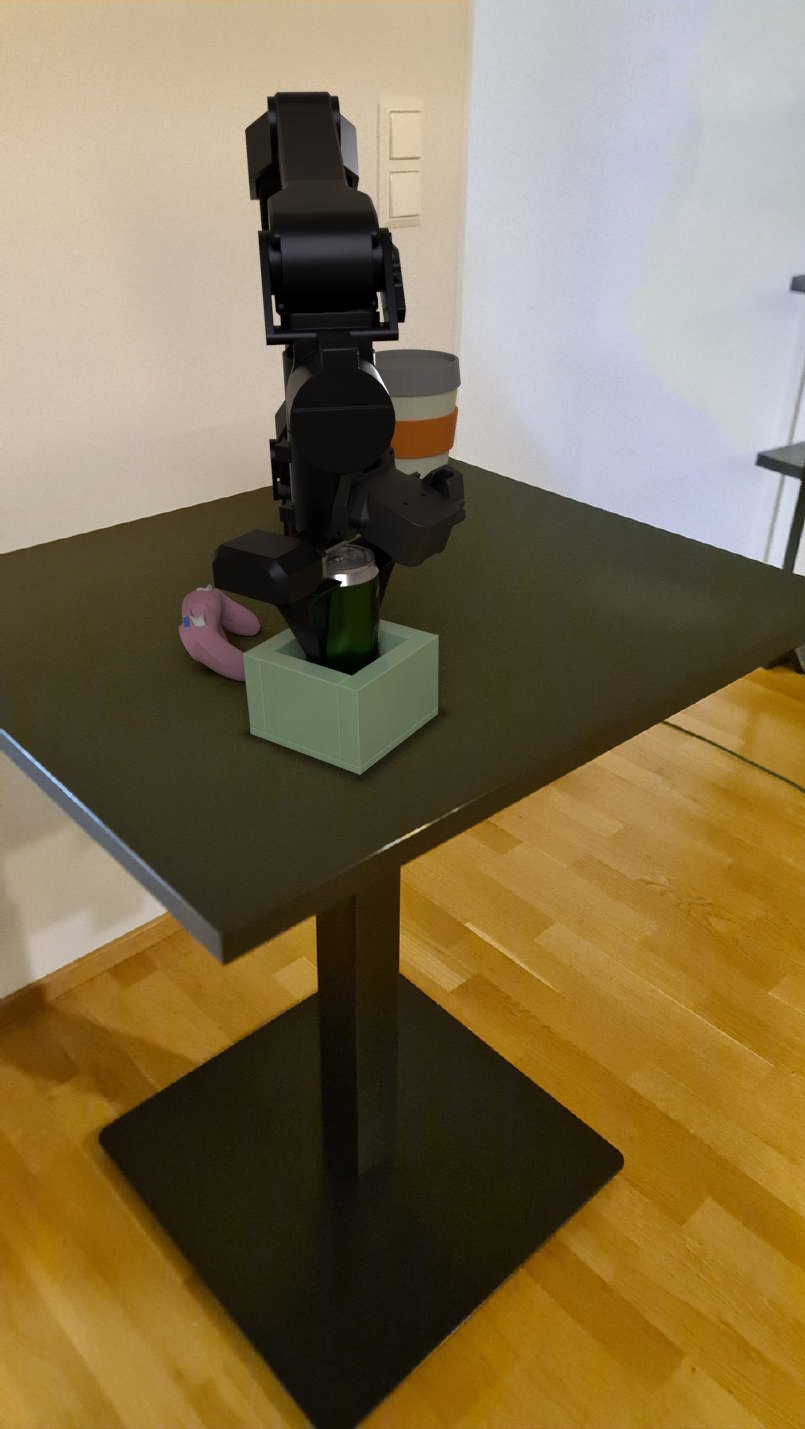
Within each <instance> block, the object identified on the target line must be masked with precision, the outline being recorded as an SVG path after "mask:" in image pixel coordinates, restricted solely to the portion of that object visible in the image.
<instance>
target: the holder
mask: <svg viewBox="0 0 805 1429" xmlns="http://www.w3.org/2000/svg"><path fill="white" fill-rule="evenodd" d="M439 638H440V637H439V634H435V633H432V632H427V631H424V630H420V629H417V628H413V627H410V626H406V625H402V624H399V623H395V622H392V621H389V620H385V619H382V618H380V646H381V657H380V658H378V659H377V660H375V661H374V662H372V663H370V664H369V665H367V666H366V667H364V668H363V669H361V670H360V671H358V672H357V673H355V674H354V675H352V676H351V675H348V674H345V673H342V672H339V671H336V670H333V669H329V668H326V667H323V666H320V665H317V664H314V663H311V662H307V661H306V654H305V653H304V651H303V649H302V648H301V646H300V644H299V643H298V641H297V639H296V638H295V636H294V634H293V633H292V631H291V629H290V628H289V627H288V628H286V629H284V630H283V631H281V632H279V633H277V634H275V635H274V636H271V637H270V638H268V639H266V640H264V641H263V642H261V643H260V644H257V645H256V646H254V647H252V648H251V649H249V650H246V651H245V652H243V661H244V671H245V681H244V682H245V689H246V691H245V692H246V698H247V699H246V700H247V710H248V711H247V712H248V719H249V731H250V732H249V733H250V735H252V736H256V737H258V738H260V739H263V740H265V741H268V742H271V743H274V744H277V745H279V746H282V747H284V748H287V749H290V750H292V751H296V752H297V753H301V754H304V755H306V756H308V757H311V758H314V759H317V760H318V761H323V762H325V763H327V764H331V765H332V766H335V767H337V768H340V769H343V770H346V771H348V772H351V773H354V774H357V775H358V776H361V775H362V774H363V773H364V772H366V771H367V770H369V769H370V768H371V767H372V766H374V765H375V764H376V763H378V762H379V761H380V760H381V759H383V758H384V757H385V756H387V755H388V754H389V753H390V752H391V751H393V750H394V749H395V748H397V747H398V746H399V745H400V744H402V743H403V742H404V741H405V740H407V739H408V738H410V737H411V736H412V735H413V734H414V733H416V732H417V731H418V730H420V729H421V728H422V727H423V726H425V725H426V724H427V723H429V722H430V721H432V719H433V718H435V717H437V715H439V652H440V650H439V649H440V648H439V647H440V646H439V640H440V639H439Z"/></svg>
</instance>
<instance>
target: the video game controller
mask: <svg viewBox="0 0 805 1429" xmlns="http://www.w3.org/2000/svg"><path fill="white" fill-rule="evenodd" d="M181 605H182V606H181V619H182V623H181V624H179V626H178V633H179V634H178V635H179V637H180V640H181V642H182V644H183V646H184V648H185V650H186V651H187V653H188V654H189V655H190V657H191V658H192V659H193V660H194V661H196V662H197V663H200V664H203V665H204V666H206V667H207V668H208V669H210V670H212V671H214V672H215V673H217V674H218V675H221V676H223V677H225V678H227V679H230V680H235V681H236V682H237V681H238V682H246V681H245V671H244V661H243V653H244V651H242V650H240V649H239V648H238V647H236V646H234V645H233V644H231V643H230V642H229V640H228V637H227V635H226V633H225V631H227V632H230V633H232V634H234V635H238V636H244V637H245V636H246V637H253V636H256V635H257V634H258V633H259V632H260V629H261V624H260V620H259V618H258V617H257V615H256V614H255V613H253V612H252V611H251V610H250V609H248V608H247V607H245V606H243V605H241V604H239V603H238V602H236V601H234V600H232V599H231V598H230V597H229V596H227V595H226V594H225V593H224V592H223V591H221V589H218V588H215V587H213V586H212V585H211V583H209V584H208V585H207V586H206V588H204V587H197V588H196V589H194V590H192V591H190V592H189V593H187V594H186V595H185V596H184V598H183V601H182V604H181ZM224 630H225V631H224Z"/></svg>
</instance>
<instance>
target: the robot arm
mask: <svg viewBox="0 0 805 1429" xmlns="http://www.w3.org/2000/svg"><path fill="white" fill-rule="evenodd" d="M339 99H340V97H339V96H338V95H331V94H330V93H329V91H276V92H275V93H274V95H269V96H266V106H267V108H266V109H267V110H266V111H265V112H263V113H262V114H260V116H259V117H258V118H256V119H255V120H254V121H253V122H251V124H249V125H248V126H247V127H246V128H245V130H244V136H245V138H244V139H245V150H246V159H247V160H246V163H247V164H246V165H247V173H248V174H247V176H248V188H249V200H250V201H258V202H259V204H258V205H259V213H260V215H259V216H260V227H261V230H257V238H258V239H257V240H258V252H259V253H258V254H259V267H260V279H261V294H262V306H263V318H264V319H263V320H264V321H263V322H264V332H265V333H264V334H265V345H266V346H284V350H283V351H282V352H281V357H282V358H281V359H282V373H283V386H284V389H283V390H284V400H283V402H282V404H281V405H280V406H279V408H278V409H277V411H276V412H275V414H274V426H275V427H274V428H275V438H269V439H268V442H269V443H268V445H269V457H270V469H271V482H272V496H273V501H274V502H278V501H281V505H280V506H278V511H279V512H278V513H279V522H281V523H282V524H283V534H280V533H276V532H273V531H268V530H263V529H260V528H255V529H253V530H250V531H248V532H246V533H245V532H244V533H243V534H241V535H239V536H237V537H233V538H232V539H230V540H227V541H226V542H222V543H220V544H219V545H218V547H217V548H216V549H215V550H214V551H213V552H212V554H211V556H210V557H211V558H210V559H211V567H212V577H213V586H214V587H213V588H217V589H218V590H220V591H221V590H222V591H225V592H228V593H231V594H235V595H238V596H242V597H245V598H249V599H252V600H255V601H258V602H263V603H265V604H269V605H273V606H275V608H276V609H277V611H278V612H279V613H280V615H281V616H282V618H283V620H284V621H285V623H286V625H287V626H288V628H290V629H291V631H292V633H293V634H294V636H295V638H296V639H297V641H298V643H299V644H300V646H301V648H302V649H303V651H304V653H305V654H306V656H307V658H308V659H309V660H310V661H311V662H314V663H317V664H322V663H323V662H324V661H325V652H326V637H327V599H328V597H329V596H330V595H331V594H332V593H333V592H334V591H335V590H336V589H337V588H338V587H339V586H340V585H341V584H342V581H340V580H336V579H333V578H329V577H327V571H326V560H327V559H328V553H330V552H332V551H334V550H336V549H338V548H340V547H342V546H344V545H346V544H351V545H357V546H362V547H365V548H367V549H370V550H371V551H372V552H373V553H374V555H375V563H376V564H377V566H378V570H379V602H380V608H381V607H382V603H383V600H384V596H385V594H386V591H387V587H388V584H389V581H390V578H391V576H392V574H393V573H392V572H393V570H394V567H395V565H396V563H397V564H398V565H400V566H402V567H406V568H416V567H419V566H420V565H422V564H423V563H424V561H426V560H427V559H429V558H431V557H433V556H434V555H436V554H438V555H439V554H441V553H443V552H444V551H445V550H446V546H447V544H448V541H449V538H450V536H451V533H452V530H453V528H454V527H455V526H456V525H458V524H460V523H462V522H463V521H465V520H466V518H467V513H466V511H465V509H464V506H465V503H466V501H465V485H464V474H463V473H462V472H461V471H459V470H458V469H456V468H454V467H453V466H451V465H449V464H445V465H443V466H440V467H438V468H436V469H434V470H432V471H431V472H429V473H428V474H427V475H426V476H425V477H424V478H423V479H420V476H421V474H420V473H418V472H414V473H412V474H410V475H408V474H405V473H403V472H402V471H400V470H398V469H396V465H395V454H394V448H393V447H391V440H392V438H393V435H394V431H395V423H396V418H395V410H394V406H393V403H392V401H391V398H390V395H389V393H388V391H387V389H386V387H385V385H384V383H383V381H382V379H381V378H380V376H379V374H378V372H377V369H376V367H375V352H376V349H375V348H374V345H373V342H375V343H378V342H399V340H400V329H399V324H405V323H406V314H407V305H406V304H407V303H406V297H405V289H404V280H403V273H402V264H401V257H400V250H399V247H397V246H396V245H395V244H394V242H393V233H392V231H390V229H389V227H380V222H379V216H378V213H377V210H376V207H375V204H374V202H373V199H372V197H371V196H370V195H369V194H368V193H365V192H363V191H361V190H359V183H360V167H359V166H360V165H359V164H360V163H359V150H358V149H359V148H358V147H359V146H358V132H357V127H356V125H354V124H353V123H352V122H351V121H350V120H348V119H347V118H346V117H345V116H343V114H341V107H340V100H339ZM378 293H379V295H380V296H379V297H380V304H381V310H382V318H383V321H381V311H380V310H379V297H378ZM273 299H274V309H275V313H276V314H277V315H278V316H279V322H280V324H278V325H277V324H275V322H274V309H273ZM278 479H279V480H278Z"/></svg>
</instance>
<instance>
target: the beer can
mask: <svg viewBox="0 0 805 1429" xmlns="http://www.w3.org/2000/svg"><path fill="white" fill-rule="evenodd" d="M326 571H327V577H329V578H333V579H336V580H340V581H342V584H341V585H340V586H339V587H338V588H337V589H336V590H335V591H334V592H333V593H332V594H331V595H330V596H329V597H328V599H327V637H326V652H325V661H324V662H323V663H322V664H317V663H314V662H311V661H310V660H309V659H308V658H307V656H306V661H307V662H311V663H314V664H317V665H320V666H323V667H326V668H329V669H333V670H336V671H339V672H342V673H345V674H348V675H351V676H352V675H354V674H355V673H357V672H358V671H360V670H361V669H363V668H364V667H366V666H367V665H369V664H370V663H372V662H374V661H375V660H377V659H378V658H380V657H381V646H380V619H381V607H380V602H379V570H378V566H377V564H376V563H375V555H374V553H373V552H372V551H371V550H370V549H367V548H365V547H362V546H357V545H351V544H346V545H344V546H342V547H340V548H338V549H336V550H334V551H332V552H330V553H328V559H327V560H326Z"/></svg>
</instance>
